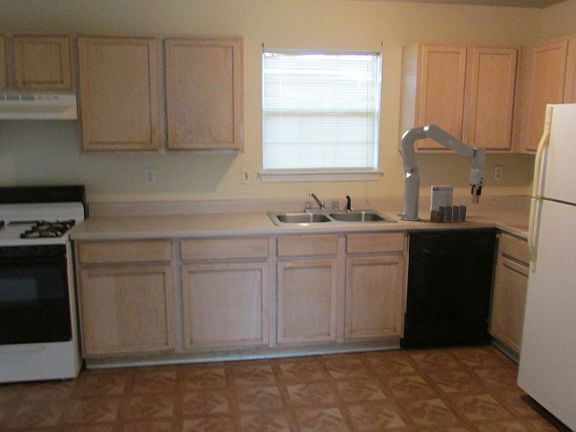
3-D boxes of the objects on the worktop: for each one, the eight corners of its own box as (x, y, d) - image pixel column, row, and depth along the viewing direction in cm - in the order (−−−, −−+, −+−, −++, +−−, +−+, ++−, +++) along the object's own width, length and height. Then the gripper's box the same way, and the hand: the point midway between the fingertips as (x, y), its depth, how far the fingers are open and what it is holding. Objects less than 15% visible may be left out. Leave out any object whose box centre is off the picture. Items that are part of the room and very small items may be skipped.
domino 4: (463, 221, 334) (464, 206, 333) (458, 220, 339) (459, 205, 337) (465, 221, 335) (466, 206, 333) (461, 220, 339) (462, 205, 338)
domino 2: (449, 222, 332) (450, 206, 330) (445, 220, 337) (446, 205, 335) (451, 222, 332) (452, 206, 331) (447, 220, 337) (448, 205, 335)
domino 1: (442, 222, 331) (443, 207, 329) (438, 221, 336) (439, 206, 334) (444, 222, 331) (445, 207, 330) (440, 220, 336) (441, 205, 334)
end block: (435, 222, 329) (436, 212, 327) (430, 221, 335) (430, 210, 334) (439, 222, 329) (439, 212, 328) (433, 220, 336) (434, 210, 335)
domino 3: (456, 221, 333) (457, 206, 331) (452, 220, 338) (453, 205, 336) (458, 221, 334) (459, 206, 332) (454, 220, 338) (455, 205, 337)
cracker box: (450, 215, 360) (451, 185, 356) (451, 216, 354) (453, 186, 350) (429, 214, 361) (431, 185, 357) (431, 216, 355) (432, 185, 351)
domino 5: (476, 203, 328) (477, 188, 326) (471, 202, 332) (473, 187, 331) (478, 203, 328) (479, 188, 326) (474, 202, 333) (475, 187, 331)
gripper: (465, 165, 333) (463, 193, 337) (480, 167, 317) (478, 196, 320) (475, 165, 335) (473, 193, 338) (491, 167, 319) (489, 196, 322)
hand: (475, 194), depth 329 cm, fingers closed on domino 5, 4 cm apart
